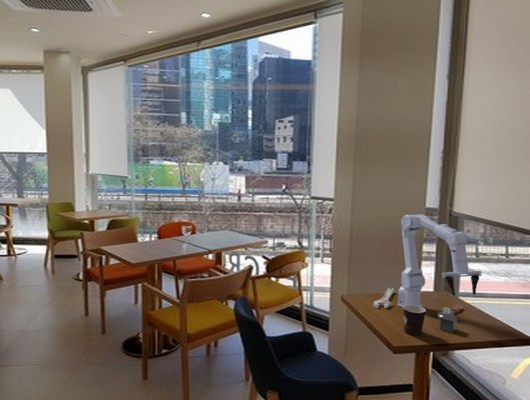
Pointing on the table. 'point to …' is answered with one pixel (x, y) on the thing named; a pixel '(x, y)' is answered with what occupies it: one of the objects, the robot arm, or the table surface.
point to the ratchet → (449, 311)
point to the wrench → (384, 299)
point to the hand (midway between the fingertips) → (464, 294)
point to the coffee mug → (413, 319)
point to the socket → (448, 324)
